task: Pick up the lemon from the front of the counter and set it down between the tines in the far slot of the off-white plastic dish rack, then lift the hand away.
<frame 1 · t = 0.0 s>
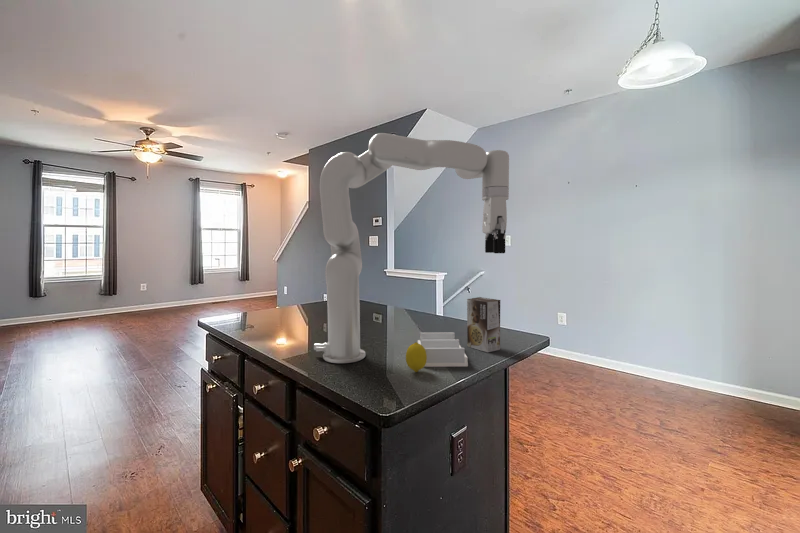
hand: (494, 252, 106), 31 cm above the countertop, tool pointing down, fingers open, 9 cm apart
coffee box: (483, 348, 117), on the countertop
dish rack: (440, 356, 109), on the countertop
lemon: (416, 372, 95), on the countertop
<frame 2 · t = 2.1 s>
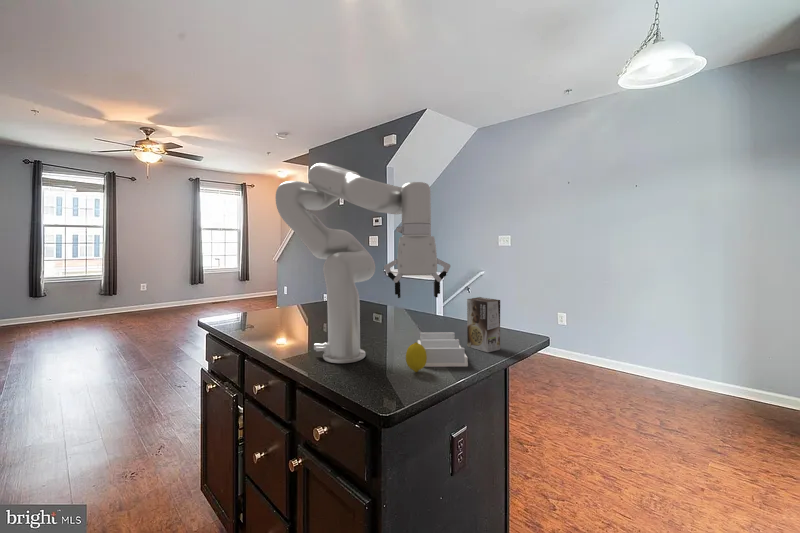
hand: (417, 297, 94), 20 cm above the countertop, tool pointing down, fingers open, 9 cm apart
nothing on the countertop moved.
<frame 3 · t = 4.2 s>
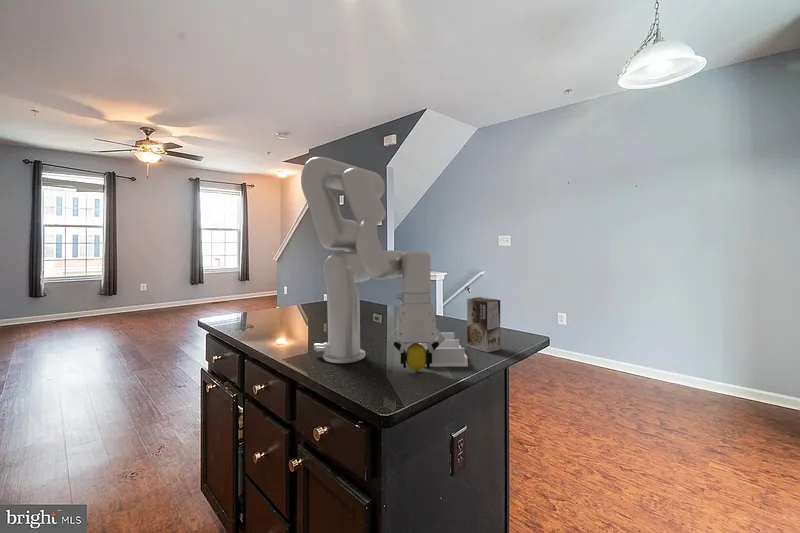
hand: (416, 365, 95), 2 cm above the countertop, tool pointing down, fingers closed on lemon, 5 cm apart
lemon: (416, 372, 95), on the countertop, touching gripper
everything else where it was.
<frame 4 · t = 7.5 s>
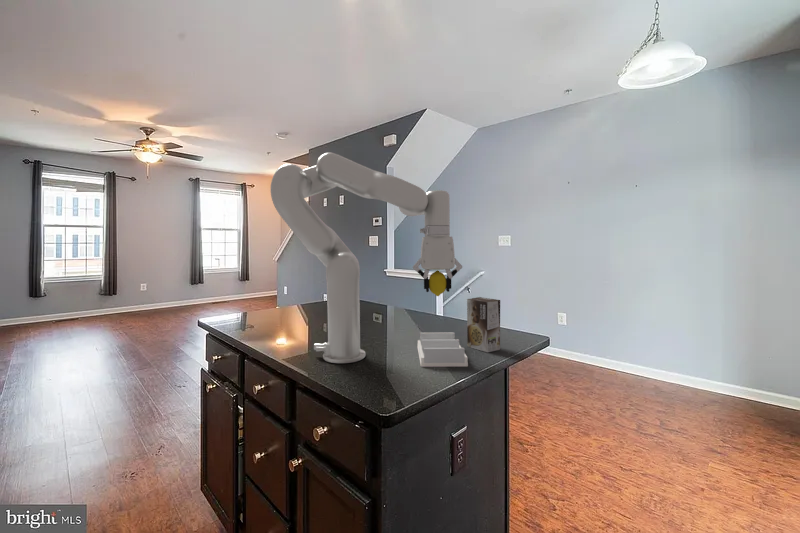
hand: (437, 290, 110), 20 cm above the countertop, tool pointing down, fingers closed on lemon, 5 cm apart
lemon: (437, 297, 110), point 18 cm above the countertop, touching gripper
everything else where it was.
when the fingers open (4 cm above the countertop, at t = 10.6 s): lemon drops 1 cm, resting on dish rack.
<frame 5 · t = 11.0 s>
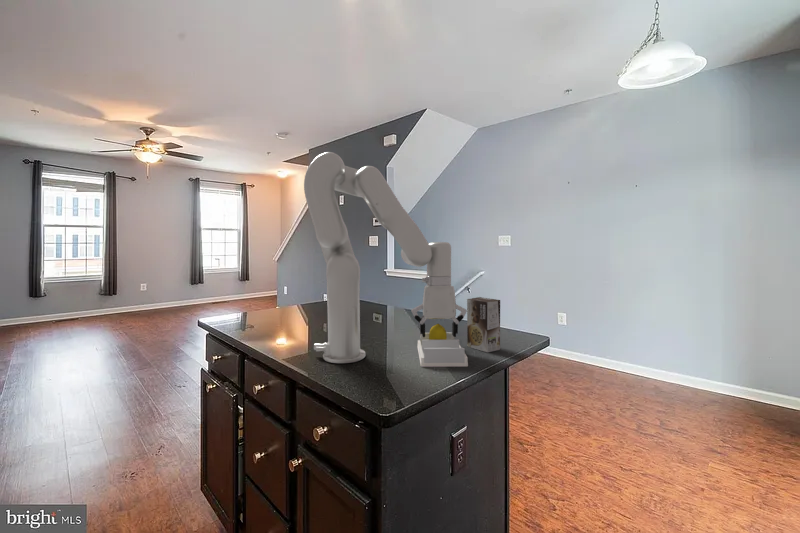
hand: (438, 335, 113), 5 cm above the countertop, tool pointing down, fingers open, 9 cm apart
lemon: (437, 349, 113), point 1 cm above the countertop, touching dish rack
everything else where it was.
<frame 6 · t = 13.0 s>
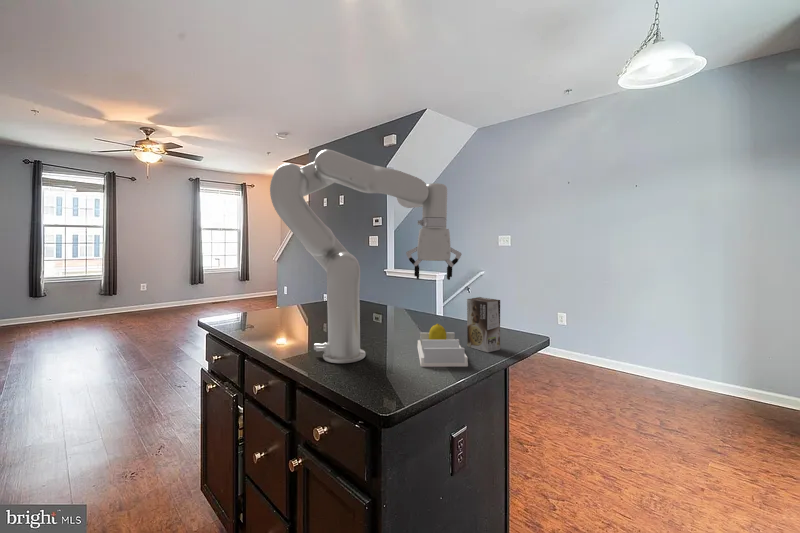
hand: (433, 279, 113), 23 cm above the countertop, tool pointing down, fingers open, 9 cm apart
nothing on the countertop moved.
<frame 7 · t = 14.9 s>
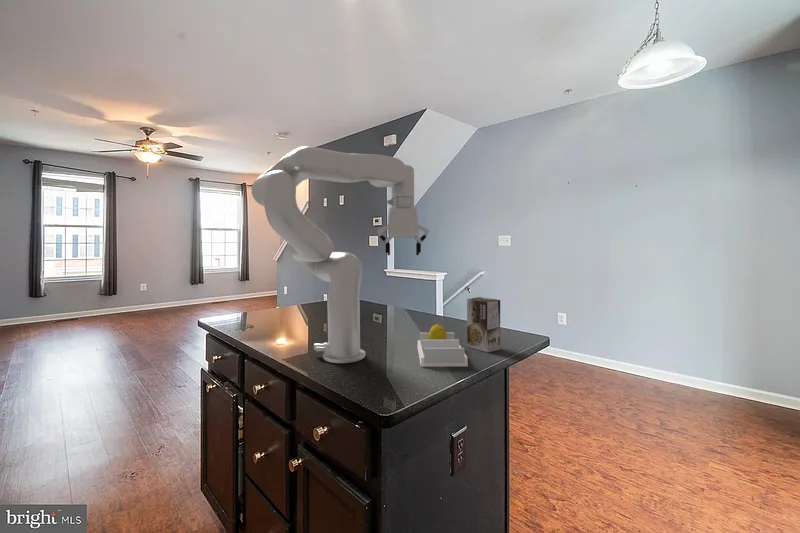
hand: (403, 255, 120), 30 cm above the countertop, tool pointing down, fingers open, 9 cm apart
nothing on the countertop moved.
at the end: lemon 0.4 cm from the target spot on the dish rack, point 0.8 cm above the dish rack's base; the gripper is holding nothing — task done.
